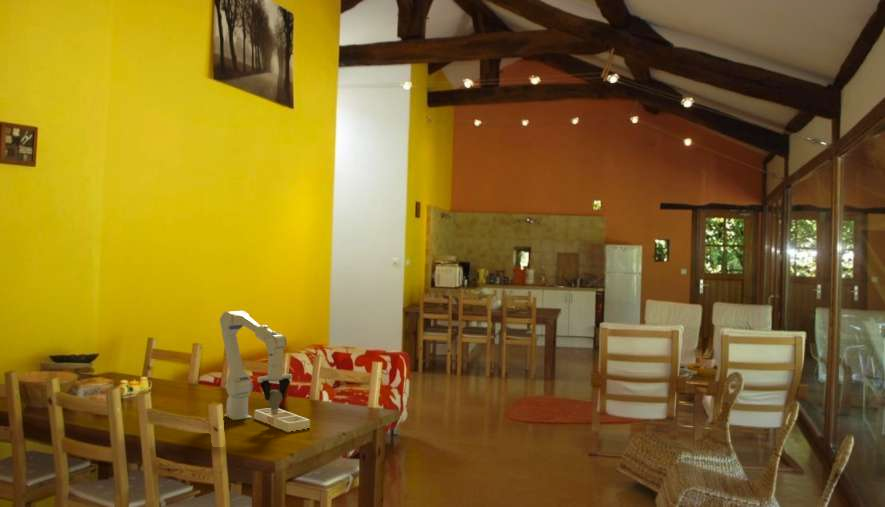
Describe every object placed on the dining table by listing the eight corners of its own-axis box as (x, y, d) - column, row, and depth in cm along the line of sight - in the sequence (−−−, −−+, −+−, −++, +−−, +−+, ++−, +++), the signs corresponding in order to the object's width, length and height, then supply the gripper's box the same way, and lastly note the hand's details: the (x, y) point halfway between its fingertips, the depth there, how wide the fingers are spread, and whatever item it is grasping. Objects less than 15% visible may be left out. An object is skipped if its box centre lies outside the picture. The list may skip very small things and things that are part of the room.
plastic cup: (276, 409, 319) (277, 382, 319) (260, 405, 326) (261, 379, 325) (295, 405, 328) (296, 379, 328) (279, 402, 334) (280, 376, 334)
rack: (253, 418, 302) (253, 410, 302) (275, 415, 308) (275, 407, 308) (287, 432, 281) (287, 423, 281) (309, 428, 288) (309, 419, 288)
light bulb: (270, 416, 288) (270, 391, 289) (264, 414, 293) (264, 389, 293) (285, 414, 292) (284, 389, 292) (278, 413, 296) (278, 388, 297)
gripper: (263, 367, 285) (262, 402, 285) (296, 364, 294) (295, 398, 294) (255, 365, 290) (254, 399, 290) (287, 362, 300) (286, 395, 300)
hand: (274, 398), depth 293 cm, fingers closed on light bulb, 6 cm apart
